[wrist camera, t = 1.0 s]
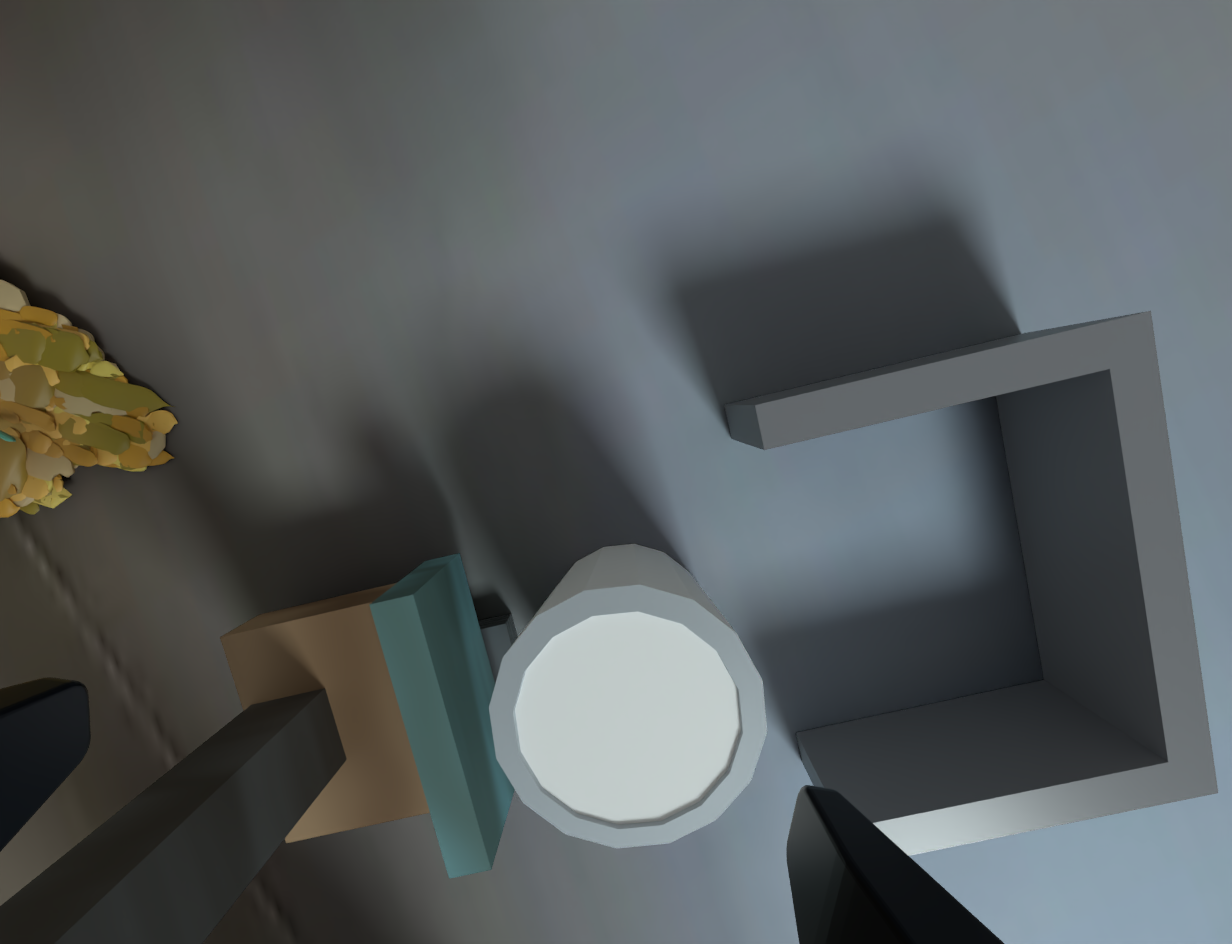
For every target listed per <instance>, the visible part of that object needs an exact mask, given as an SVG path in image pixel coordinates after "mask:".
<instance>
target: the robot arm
mask: <svg viewBox="0 0 1232 944" xmlns="http://www.w3.org/2000/svg"><path fill="white" fill-rule="evenodd" d="M90 738H91V735H90V716H89V696H88V690H87V688H86V687H85V685H84V684H82V683H81V682H78V681H73V680H66V679H59V678H41V679H37V680H33V681H29V682H26V683H22V684H18V685H14V686H10V687H6V688H2V689H0V851H1V850H2V849H3V848H4V847H5V846H6V845H7V844H8V843H9V841H10V840H11V839H12V838H13V837H14V836H15V835H16V834H17V833H18V831H19V830H20V829H21V828H22V827H23V826H24V825H25V824H26V822H27V821H28V820H29V819H30V818H31V817H32V816H33V815H34V814H35V812H36V811H37V810H38V809H39V808H40V807H41V806H42V805H43V803H44V802H45V801H46V800H47V799H48V798H49V797H50V796H51V795H52V793H53V792H54V791H55V790H56V789H57V788H58V787H59V786H60V784H61V783H62V782H63V781H64V780H65V779H66V778H67V777H68V776H69V774H70V773H71V772H72V771H73V770H74V769H75V768H76V767H77V765H78V764H79V763H80V762H81V761H82V759H83V758H84V756H85V754H86V752H87V750H88V748H89V744H90ZM787 865H788V872H789V878H790V885H791V891H792V898H793V904H794V911H795V917H796V924H797V931H798V937H799V944H1004V943H1003V942H1002V941H1001V940H1000V939H999V938H998V937H997V936H995V935H994V934H993V933H992V932H991V931H990V930H989V929H988V928H987V927H986V926H984V925H983V924H982V923H981V922H980V921H979V920H978V919H977V918H976V917H975V916H974V915H972V914H971V913H970V912H969V911H968V910H967V909H966V908H965V907H964V906H963V905H962V904H960V903H959V902H958V901H957V900H956V899H955V898H954V897H953V896H952V895H951V894H950V893H948V892H947V891H946V890H945V889H944V888H943V887H942V886H941V885H940V884H939V883H938V882H936V881H935V880H934V879H933V878H932V877H931V876H930V875H929V874H928V873H927V872H925V871H924V870H923V869H922V868H921V867H920V866H919V865H918V864H917V863H916V862H915V861H913V860H912V859H911V858H910V857H909V856H908V855H907V854H906V853H905V852H904V851H903V850H901V849H900V848H899V847H898V846H897V845H896V844H895V843H894V842H893V841H892V840H891V839H889V838H888V837H887V836H886V835H885V834H884V833H883V832H882V831H881V830H880V829H879V828H877V827H876V826H875V825H874V824H873V823H872V822H871V821H870V820H869V819H868V818H867V817H865V816H864V815H863V814H862V813H861V812H860V811H859V810H858V809H857V808H856V807H854V806H853V805H852V804H851V803H850V802H849V801H848V800H847V799H846V798H845V797H844V796H842V795H841V794H840V793H839V792H838V791H836V790H834V789H831V788H824V787H817V786H810V785H805V786H804V787H802V788H801V789H800V791H799V793H798V796H797V800H796V805H795V809H794V813H793V818H792V822H791V827H790V831H789V835H788V840H787Z"/></svg>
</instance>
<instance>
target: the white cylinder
mask: <svg viewBox="0 0 1232 944" xmlns="http://www.w3.org/2000/svg"><path fill="white" fill-rule="evenodd" d="M489 713H490V720H491V726H492V733H493V740H494V747H495V754H496V759H497V761H498V762H499V764H500V766H501V767H502V769H503V771H504V772H505V774H506V776H507V777H508V779H509V781H510V782H511V784H512V786H513V787H514V789H515V790H516V792H517V794H518V795H519V797H520V799H521V800H522V802H523V803H524V804H525V805H527V806H528V807H529V808H531V809H532V810H533V811H535V812H536V813H537V814H539V815H540V816H541V817H543V818H544V819H545V820H547V821H548V822H549V823H551V824H552V825H553V826H555V827H556V828H558V829H559V830H560V831H562V832H563V833H564V834H566V835H570V836H574V837H577V838H581V839H584V840H588V841H592V842H595V843H599V844H602V845H606V846H610V847H613V848H625V847H636V846H647V845H658V844H669V843H671V842H673V841H675V840H677V839H679V838H681V837H683V836H685V835H687V834H689V833H691V832H693V831H695V830H697V829H699V828H701V827H703V826H705V825H707V824H709V823H711V822H713V821H715V820H717V819H718V818H719V816H720V815H721V814H722V813H723V812H724V811H725V810H726V809H727V807H728V806H729V805H730V804H731V803H732V802H733V801H734V800H735V798H736V797H737V796H738V795H739V794H740V793H741V792H742V791H743V789H744V788H745V787H746V786H747V785H748V784H749V783H750V782H751V779H752V776H753V773H754V770H755V767H756V764H757V761H758V758H759V755H760V752H761V749H762V747H763V744H764V741H765V738H766V735H767V723H766V712H765V701H764V690H763V680H762V678H761V676H760V675H759V673H758V671H757V669H756V667H755V666H754V664H753V662H752V660H751V658H750V657H749V655H748V653H747V651H746V649H745V648H744V646H743V644H742V642H741V640H740V638H739V637H738V635H737V633H736V632H735V631H734V629H733V628H732V627H731V625H730V624H729V623H728V622H727V620H726V619H725V618H724V617H723V615H722V614H721V613H720V611H719V610H718V609H717V608H716V606H715V605H714V604H713V602H712V601H711V600H710V599H709V597H708V596H707V595H706V593H705V592H704V591H703V590H702V588H701V587H700V586H699V584H698V583H697V582H696V581H695V579H694V578H693V577H692V575H691V574H690V573H689V572H688V571H687V570H686V569H685V568H684V567H682V566H681V565H680V564H678V563H677V562H676V561H675V560H673V559H672V558H671V557H670V556H668V555H667V554H666V553H665V552H662V551H658V550H655V549H651V548H648V547H644V546H641V545H637V544H626V545H617V546H607V547H602V548H600V549H599V550H597V551H595V552H593V553H591V554H589V555H587V556H586V557H584V558H582V559H580V560H578V561H576V563H575V564H574V565H573V566H572V567H571V569H570V570H569V571H568V572H567V574H566V575H565V576H564V577H563V579H562V580H561V581H560V582H559V584H558V585H557V586H556V587H555V589H554V590H553V591H552V593H551V594H550V595H549V597H548V598H547V599H546V601H545V602H544V603H543V605H542V606H541V607H540V609H539V610H538V611H537V613H536V614H535V615H534V617H533V618H532V619H531V621H530V622H529V623H528V625H527V626H526V627H525V629H524V630H523V631H522V633H521V634H520V635H519V637H518V638H517V639H516V641H515V642H514V643H513V645H512V646H511V647H510V649H509V650H508V651H507V653H506V654H505V655H504V657H503V658H502V662H501V665H500V669H499V673H498V676H497V680H496V684H495V687H494V691H493V694H492V698H491V702H490V705H489Z"/></svg>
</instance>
